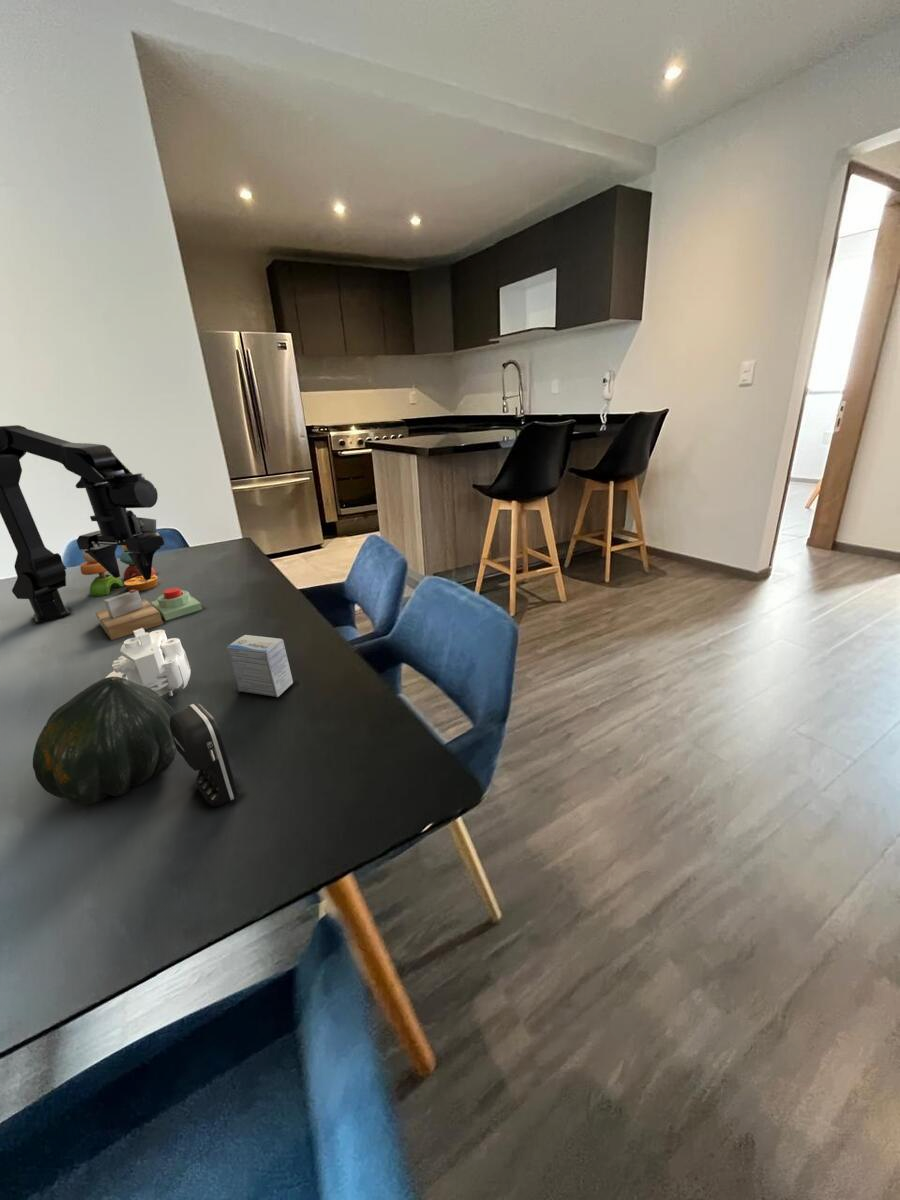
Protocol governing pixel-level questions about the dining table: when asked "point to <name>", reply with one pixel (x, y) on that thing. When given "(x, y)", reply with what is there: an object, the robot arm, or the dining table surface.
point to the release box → (176, 605)
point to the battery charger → (204, 753)
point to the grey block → (123, 603)
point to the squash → (104, 742)
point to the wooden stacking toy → (104, 582)
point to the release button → (172, 593)
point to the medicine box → (260, 665)
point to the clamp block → (129, 621)
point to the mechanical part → (153, 662)
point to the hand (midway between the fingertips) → (132, 578)
